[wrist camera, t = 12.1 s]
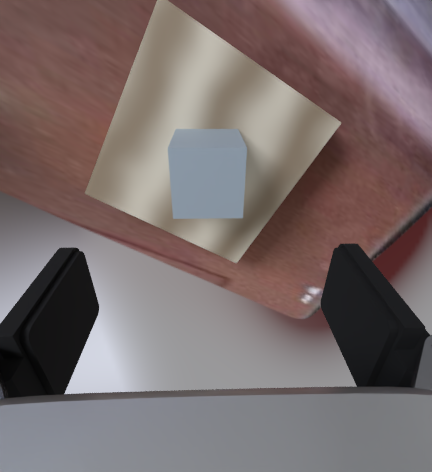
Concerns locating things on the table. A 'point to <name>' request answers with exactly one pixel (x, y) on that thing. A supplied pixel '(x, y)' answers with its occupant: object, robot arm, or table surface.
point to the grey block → (207, 173)
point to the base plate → (204, 117)
